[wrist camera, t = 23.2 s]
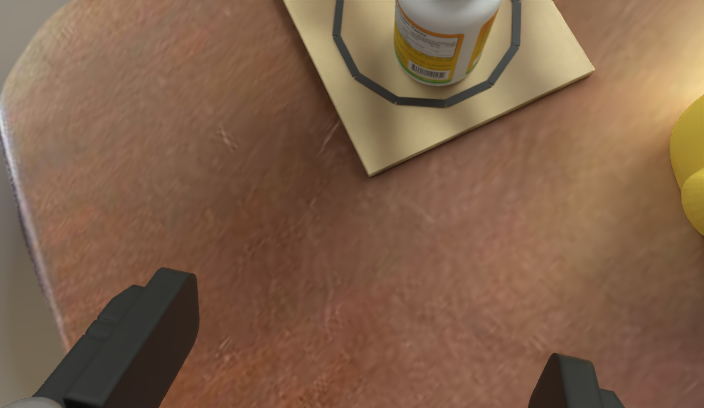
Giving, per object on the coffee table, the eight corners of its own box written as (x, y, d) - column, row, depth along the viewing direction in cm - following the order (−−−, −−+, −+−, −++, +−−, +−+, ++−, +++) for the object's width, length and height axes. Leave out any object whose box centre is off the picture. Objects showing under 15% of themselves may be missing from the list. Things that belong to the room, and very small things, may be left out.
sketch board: (369, 177, 32) (368, 174, 32) (271, -22, 35) (269, -29, 35) (591, 74, 33) (596, 69, 32) (476, -113, 36) (478, -122, 35)
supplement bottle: (458, -6, 34) (487, -131, 24) (496, 67, 33) (543, -35, 23) (379, 28, 34) (377, -86, 24) (415, 102, 32) (428, 13, 23)
